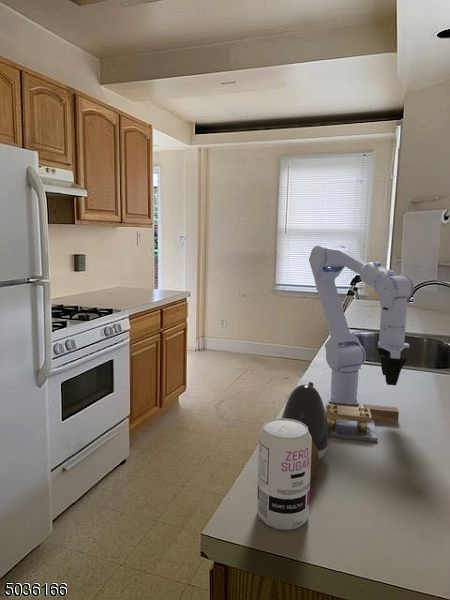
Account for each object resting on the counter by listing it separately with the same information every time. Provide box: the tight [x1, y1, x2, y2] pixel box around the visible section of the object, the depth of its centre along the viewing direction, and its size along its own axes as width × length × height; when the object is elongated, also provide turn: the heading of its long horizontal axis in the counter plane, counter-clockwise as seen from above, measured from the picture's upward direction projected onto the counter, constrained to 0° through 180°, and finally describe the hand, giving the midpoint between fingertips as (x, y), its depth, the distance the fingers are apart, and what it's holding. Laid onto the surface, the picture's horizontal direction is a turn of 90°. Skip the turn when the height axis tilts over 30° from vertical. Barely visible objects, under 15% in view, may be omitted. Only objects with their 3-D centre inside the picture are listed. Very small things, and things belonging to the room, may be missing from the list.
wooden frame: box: [325, 403, 372, 423], centre depth 102 cm, size 6×10×1 cm, turn 77°
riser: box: [363, 403, 400, 424], centre depth 108 cm, size 3×8×3 cm, turn 77°
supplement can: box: [256, 418, 312, 531], centre depth 69 cm, size 8×8×15 cm
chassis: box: [327, 403, 379, 443], centre depth 102 cm, size 10×13×5 cm
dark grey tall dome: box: [281, 381, 331, 460], centre depth 88 cm, size 10×10×15 cm
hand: (389, 379), depth 107 cm, fingers open, 7 cm apart
